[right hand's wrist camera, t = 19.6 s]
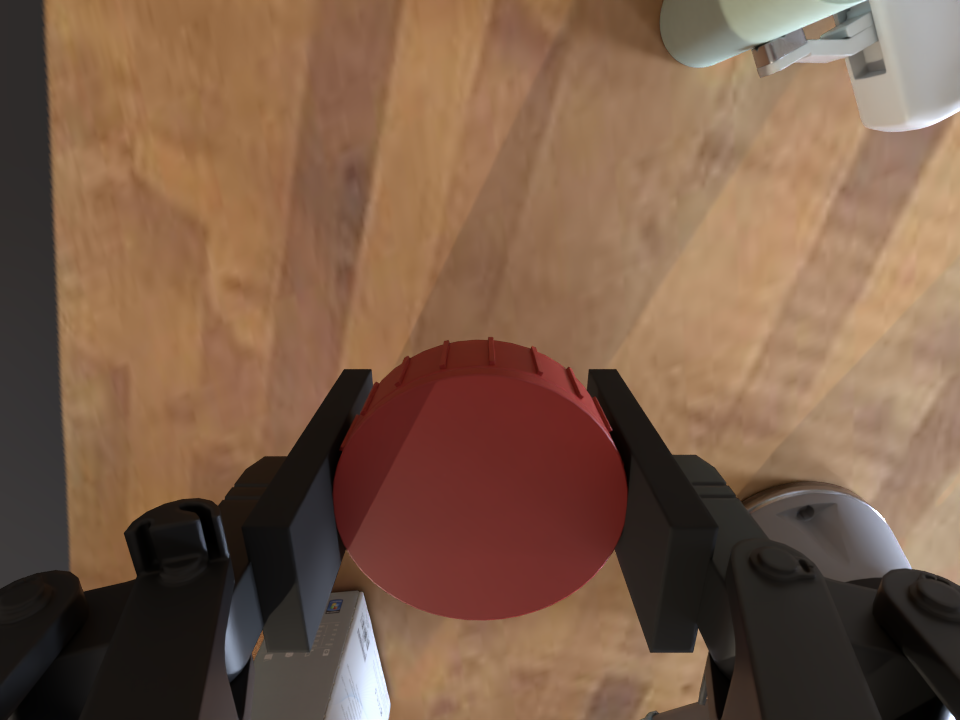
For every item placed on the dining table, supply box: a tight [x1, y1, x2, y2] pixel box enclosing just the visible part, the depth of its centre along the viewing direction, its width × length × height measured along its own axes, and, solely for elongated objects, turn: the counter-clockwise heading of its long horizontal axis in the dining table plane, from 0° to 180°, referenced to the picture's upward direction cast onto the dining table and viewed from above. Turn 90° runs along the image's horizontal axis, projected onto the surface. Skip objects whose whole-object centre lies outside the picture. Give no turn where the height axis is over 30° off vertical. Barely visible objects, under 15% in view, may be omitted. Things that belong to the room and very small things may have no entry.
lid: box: [332, 337, 628, 620], centre depth 11 cm, size 6×6×2 cm
